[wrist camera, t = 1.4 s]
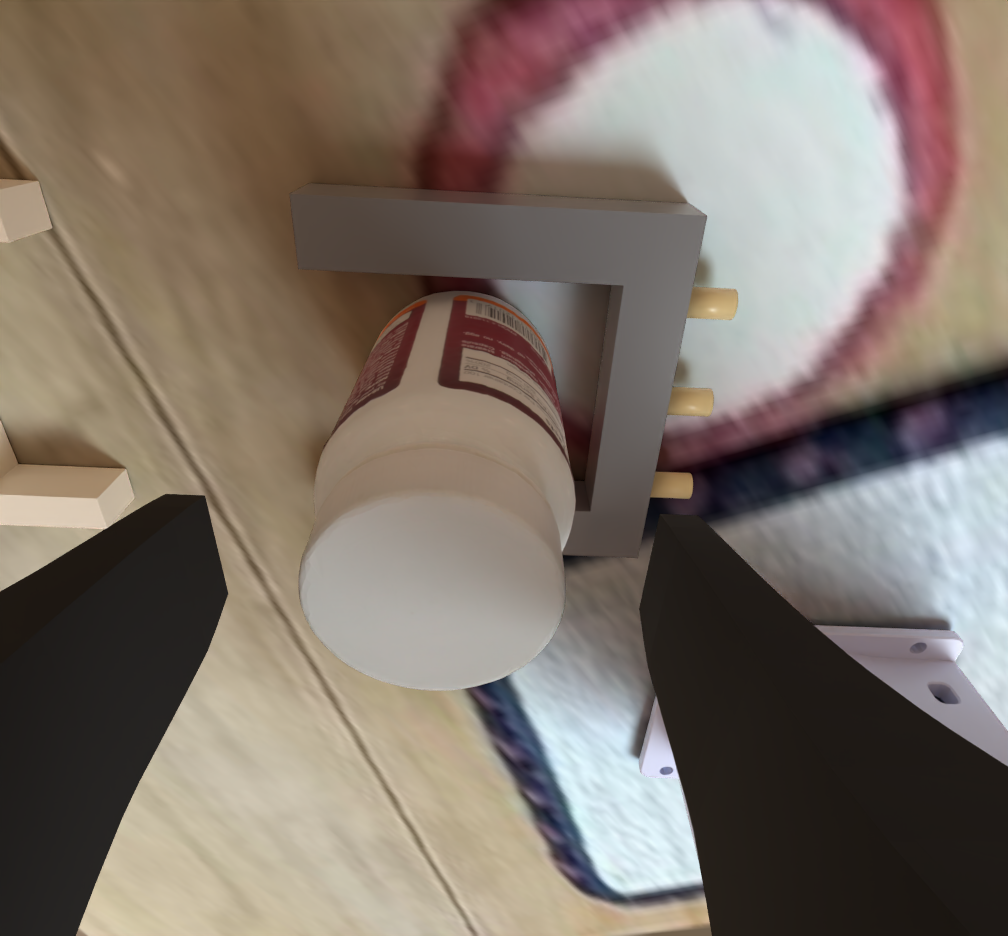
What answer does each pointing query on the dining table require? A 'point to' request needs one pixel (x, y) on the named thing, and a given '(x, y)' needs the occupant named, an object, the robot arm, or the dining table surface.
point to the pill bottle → (443, 501)
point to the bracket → (43, 488)
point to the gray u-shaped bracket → (554, 258)
